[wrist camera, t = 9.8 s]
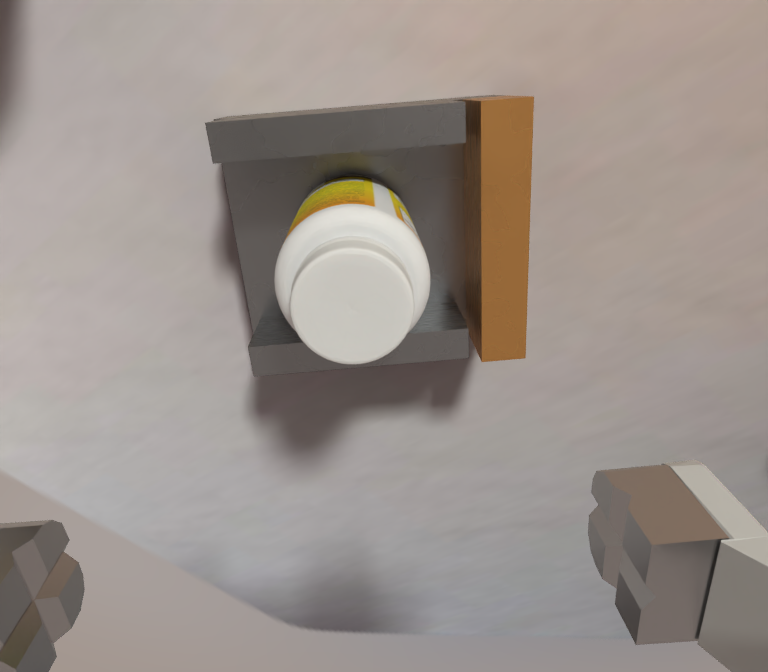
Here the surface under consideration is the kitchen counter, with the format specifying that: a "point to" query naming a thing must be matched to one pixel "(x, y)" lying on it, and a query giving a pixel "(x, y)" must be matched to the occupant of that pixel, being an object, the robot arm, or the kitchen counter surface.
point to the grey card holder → (422, 200)
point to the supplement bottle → (352, 271)
